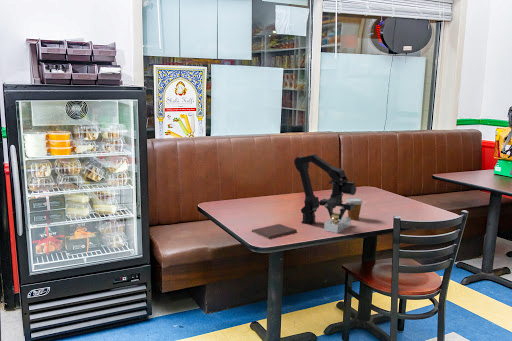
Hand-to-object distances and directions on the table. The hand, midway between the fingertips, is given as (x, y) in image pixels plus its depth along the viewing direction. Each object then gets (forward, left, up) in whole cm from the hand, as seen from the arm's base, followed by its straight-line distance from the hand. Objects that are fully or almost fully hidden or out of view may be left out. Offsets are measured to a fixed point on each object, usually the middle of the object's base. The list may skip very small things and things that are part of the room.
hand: (335, 219), depth 269 cm
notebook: (-25, -25, -6) cm, 36 cm away
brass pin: (0, 0, -3) cm, 3 cm away
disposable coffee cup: (0, +26, -6) cm, 27 cm away
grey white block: (0, +3, -6) cm, 6 cm away
